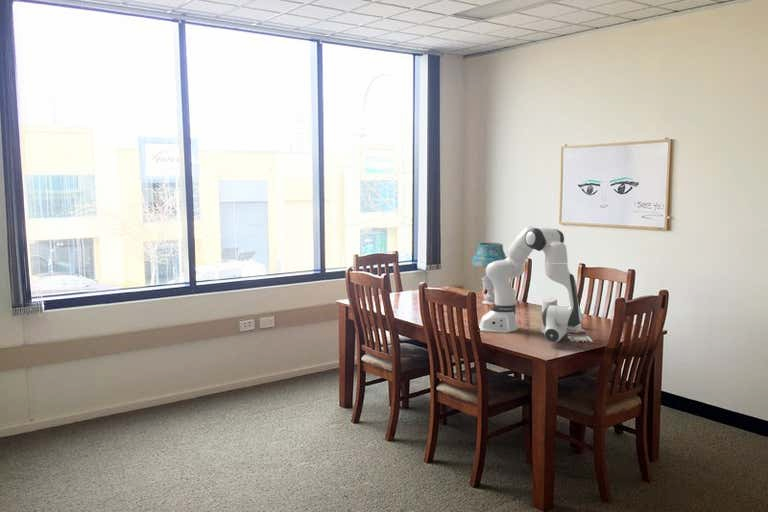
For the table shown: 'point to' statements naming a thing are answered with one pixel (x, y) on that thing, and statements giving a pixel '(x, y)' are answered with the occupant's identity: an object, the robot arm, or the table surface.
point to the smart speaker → (548, 303)
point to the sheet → (579, 338)
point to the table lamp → (482, 259)
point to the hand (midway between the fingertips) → (563, 322)
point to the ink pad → (578, 332)
